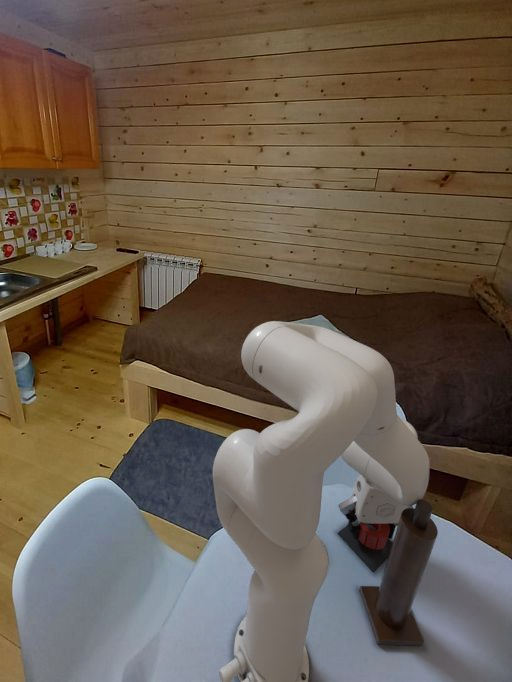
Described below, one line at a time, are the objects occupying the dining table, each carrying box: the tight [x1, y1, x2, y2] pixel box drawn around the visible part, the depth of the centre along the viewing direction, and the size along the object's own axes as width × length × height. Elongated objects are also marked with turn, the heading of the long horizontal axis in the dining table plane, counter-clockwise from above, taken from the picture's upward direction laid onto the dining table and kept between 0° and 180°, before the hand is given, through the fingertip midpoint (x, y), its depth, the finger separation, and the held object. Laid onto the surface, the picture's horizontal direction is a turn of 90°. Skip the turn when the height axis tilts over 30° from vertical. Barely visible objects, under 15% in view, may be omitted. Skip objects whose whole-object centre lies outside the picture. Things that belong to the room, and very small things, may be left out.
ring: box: [356, 516, 390, 550], centre depth 76 cm, size 7×7×4 cm
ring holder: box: [358, 498, 439, 646], centre depth 59 cm, size 8×8×29 cm
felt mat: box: [337, 524, 393, 573], centre depth 77 cm, size 9×9×1 cm
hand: (369, 531), depth 76 cm, fingers closed on ring, 7 cm apart
